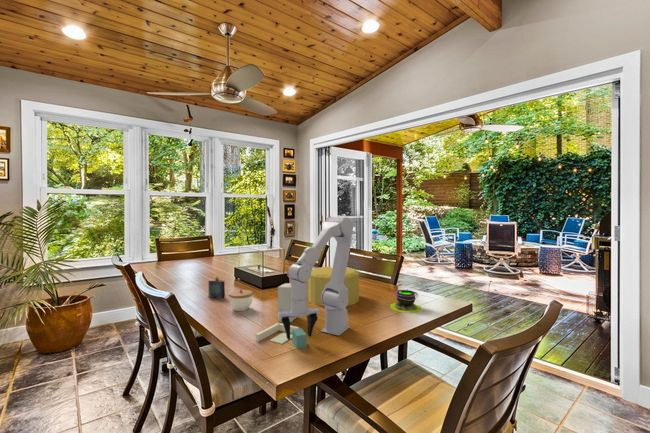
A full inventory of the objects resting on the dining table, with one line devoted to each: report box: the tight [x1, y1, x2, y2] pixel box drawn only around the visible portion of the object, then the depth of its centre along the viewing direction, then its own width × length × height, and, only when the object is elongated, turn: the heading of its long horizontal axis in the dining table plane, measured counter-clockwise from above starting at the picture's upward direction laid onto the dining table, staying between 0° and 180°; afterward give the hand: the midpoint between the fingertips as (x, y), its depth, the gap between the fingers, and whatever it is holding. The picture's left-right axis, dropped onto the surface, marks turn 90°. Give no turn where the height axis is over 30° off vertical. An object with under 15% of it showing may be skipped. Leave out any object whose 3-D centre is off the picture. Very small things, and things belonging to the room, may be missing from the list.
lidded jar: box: [228, 288, 254, 312], centre depth 151 cm, size 11×11×9 cm
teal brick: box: [291, 327, 307, 349], centre depth 113 cm, size 6×4×4 cm, turn 20°
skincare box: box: [277, 282, 298, 323], centre depth 137 cm, size 8×6×15 cm
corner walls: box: [255, 321, 300, 343], centre depth 119 cm, size 13×10×2 cm
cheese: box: [308, 266, 360, 307], centre depth 167 cm, size 26×26×15 cm
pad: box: [269, 332, 292, 345], centre depth 118 cm, size 8×6×1 cm
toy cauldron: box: [389, 283, 423, 314], centre depth 153 cm, size 15×15×11 cm
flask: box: [207, 276, 226, 299], centre depth 170 cm, size 9×3×11 cm, turn 77°
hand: (299, 336), depth 113 cm, fingers open, 7 cm apart
